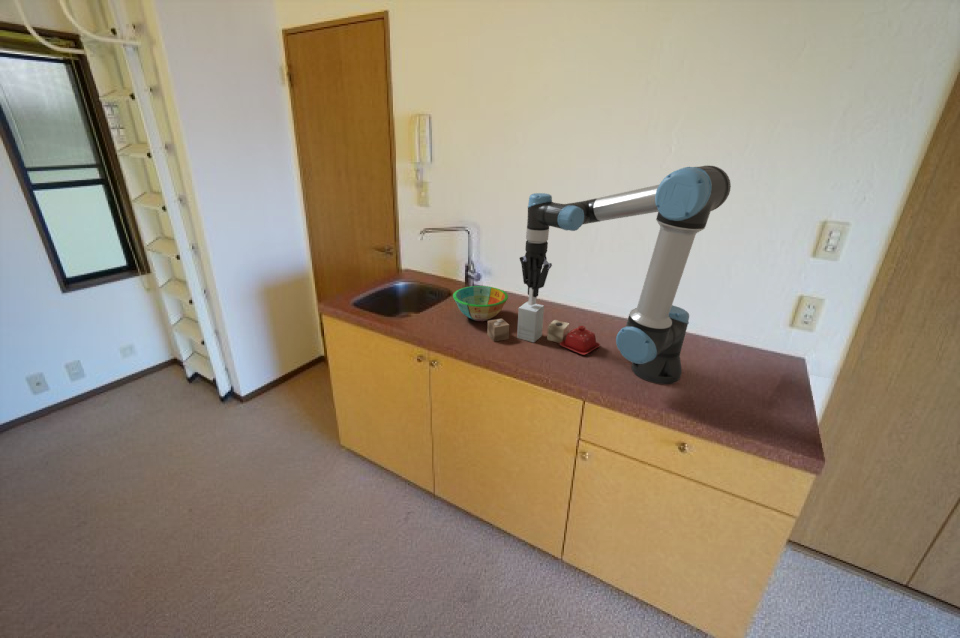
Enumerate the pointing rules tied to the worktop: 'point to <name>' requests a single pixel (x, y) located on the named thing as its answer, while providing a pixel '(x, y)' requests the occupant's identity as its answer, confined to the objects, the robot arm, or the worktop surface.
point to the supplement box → (530, 322)
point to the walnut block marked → (498, 329)
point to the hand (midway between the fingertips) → (532, 304)
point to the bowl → (480, 301)
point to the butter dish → (580, 341)
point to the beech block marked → (557, 331)
